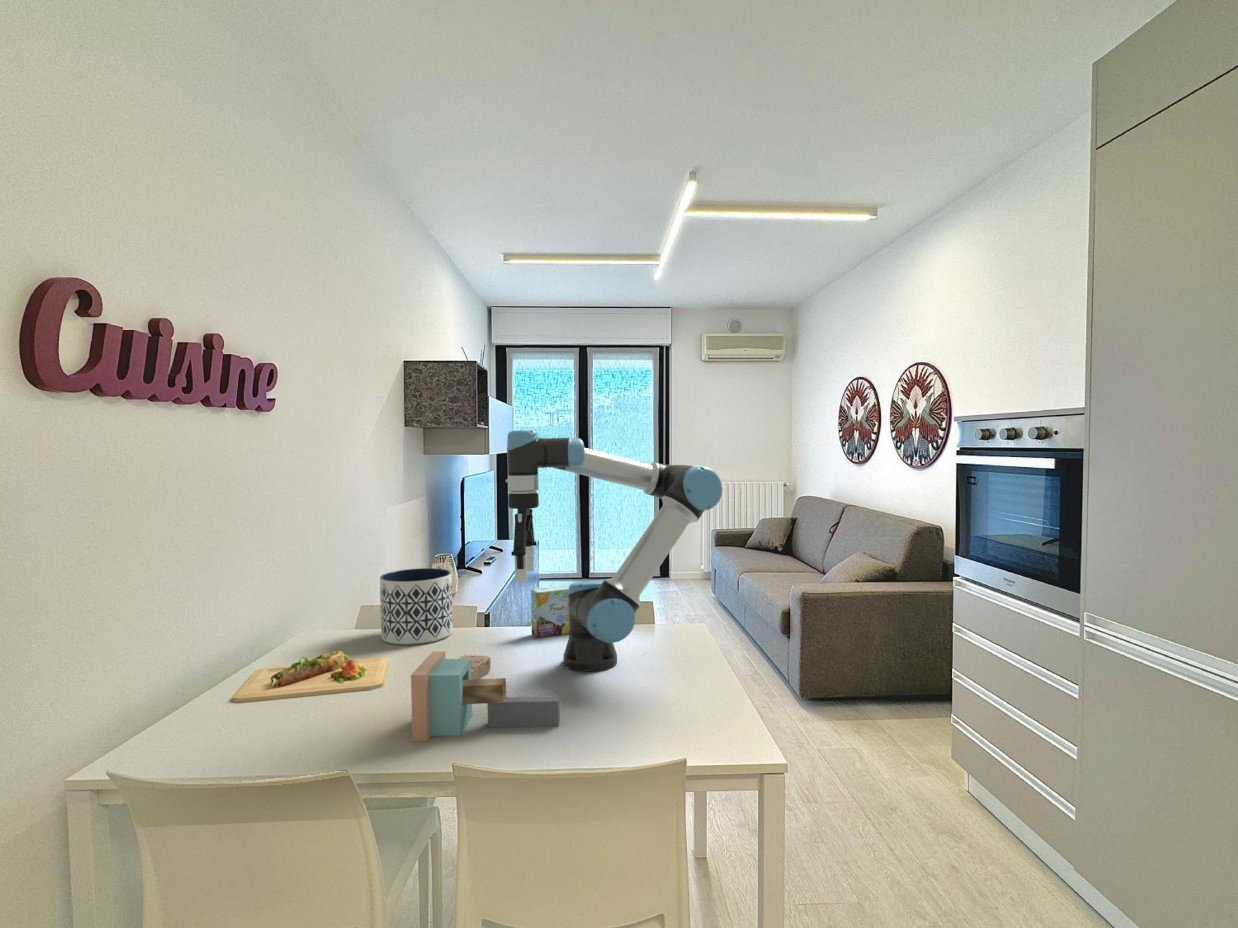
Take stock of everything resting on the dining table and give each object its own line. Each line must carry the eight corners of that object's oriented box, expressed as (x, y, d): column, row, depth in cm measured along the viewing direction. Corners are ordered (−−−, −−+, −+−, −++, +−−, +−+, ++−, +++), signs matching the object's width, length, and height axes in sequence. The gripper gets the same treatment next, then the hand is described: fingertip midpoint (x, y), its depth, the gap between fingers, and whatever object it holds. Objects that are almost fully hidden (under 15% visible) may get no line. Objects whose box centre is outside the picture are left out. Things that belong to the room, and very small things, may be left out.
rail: (559, 720, 150) (559, 696, 150) (558, 725, 147) (558, 701, 147) (490, 721, 150) (489, 697, 150) (487, 726, 147) (487, 702, 147)
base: (446, 710, 157) (445, 651, 156) (426, 740, 141) (425, 674, 140) (433, 710, 157) (432, 651, 156) (412, 741, 141) (410, 675, 140)
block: (472, 714, 154) (470, 658, 154) (460, 735, 143) (459, 675, 143) (443, 715, 154) (442, 658, 154) (430, 735, 143) (428, 675, 143)
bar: (506, 695, 150) (505, 678, 150) (503, 702, 146) (502, 684, 146) (448, 697, 150) (447, 680, 150) (443, 704, 146) (442, 686, 146)
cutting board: (390, 662, 195) (389, 637, 194) (382, 691, 172) (381, 662, 172) (257, 674, 186) (257, 647, 186) (231, 706, 163) (230, 675, 163)
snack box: (537, 639, 214) (536, 592, 214) (531, 634, 219) (530, 588, 219) (597, 629, 224) (596, 584, 223) (590, 625, 229) (589, 581, 228)
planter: (390, 628, 230) (388, 569, 229) (456, 625, 232) (455, 566, 231) (373, 647, 207) (371, 582, 207) (447, 644, 210) (446, 579, 209)
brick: (460, 694, 168) (460, 675, 168) (431, 691, 170) (431, 672, 170) (492, 672, 184) (491, 655, 184) (464, 670, 186) (464, 653, 186)
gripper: (516, 489, 180) (517, 567, 181) (499, 496, 156) (501, 587, 156) (543, 488, 180) (545, 567, 181) (531, 495, 156) (533, 586, 156)
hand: (525, 576), depth 169 cm, fingers open, 13 cm apart
